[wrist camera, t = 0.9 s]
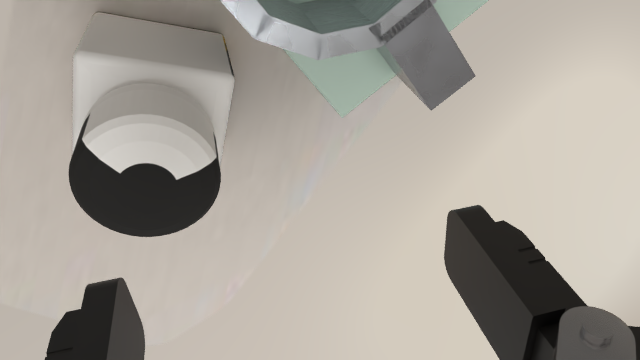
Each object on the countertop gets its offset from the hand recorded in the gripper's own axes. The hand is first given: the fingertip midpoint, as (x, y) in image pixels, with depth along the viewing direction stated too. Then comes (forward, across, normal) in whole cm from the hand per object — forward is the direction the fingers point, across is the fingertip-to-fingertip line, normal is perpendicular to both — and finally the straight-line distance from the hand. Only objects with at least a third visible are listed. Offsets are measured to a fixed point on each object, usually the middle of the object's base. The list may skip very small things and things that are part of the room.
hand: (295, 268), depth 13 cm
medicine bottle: (+21, +5, +3) cm, 22 cm away
